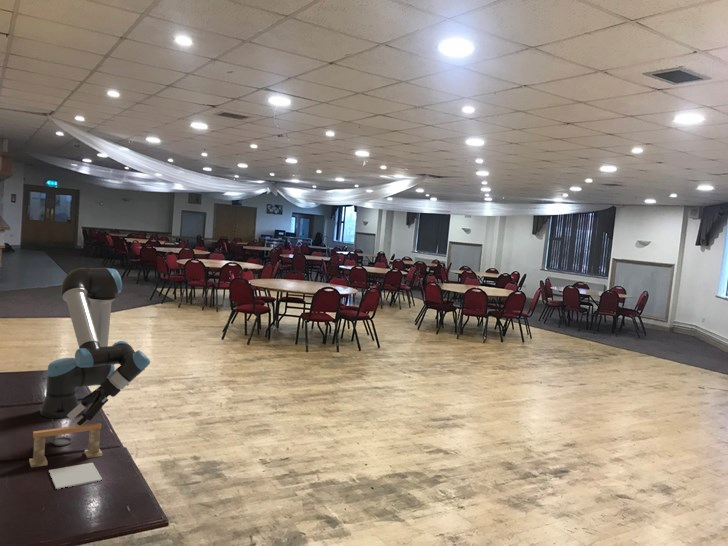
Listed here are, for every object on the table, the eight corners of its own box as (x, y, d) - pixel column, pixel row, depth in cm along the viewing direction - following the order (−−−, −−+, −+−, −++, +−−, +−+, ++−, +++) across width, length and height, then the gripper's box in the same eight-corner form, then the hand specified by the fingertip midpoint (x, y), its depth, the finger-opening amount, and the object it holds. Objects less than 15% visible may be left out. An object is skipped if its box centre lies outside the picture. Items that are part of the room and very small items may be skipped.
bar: (33, 438, 192) (33, 433, 192) (32, 436, 193) (33, 431, 193) (101, 428, 206) (101, 424, 206) (100, 427, 207) (100, 422, 207)
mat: (48, 471, 190) (48, 470, 190) (92, 464, 199) (92, 462, 199) (56, 489, 179) (56, 488, 179) (102, 480, 188) (102, 479, 188)
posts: (31, 467, 191) (32, 440, 190) (29, 462, 195) (30, 434, 194) (102, 455, 206) (103, 430, 205) (98, 450, 210) (100, 425, 209)
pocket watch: (75, 442, 215) (77, 417, 214) (57, 449, 207) (59, 424, 206) (60, 437, 217) (61, 413, 216) (41, 444, 209) (42, 419, 209)
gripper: (125, 399, 209) (79, 442, 203) (117, 380, 230) (76, 418, 224) (110, 387, 206) (63, 430, 199) (104, 368, 227) (61, 406, 221)
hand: (70, 423), depth 212 cm, fingers open, 13 cm apart
